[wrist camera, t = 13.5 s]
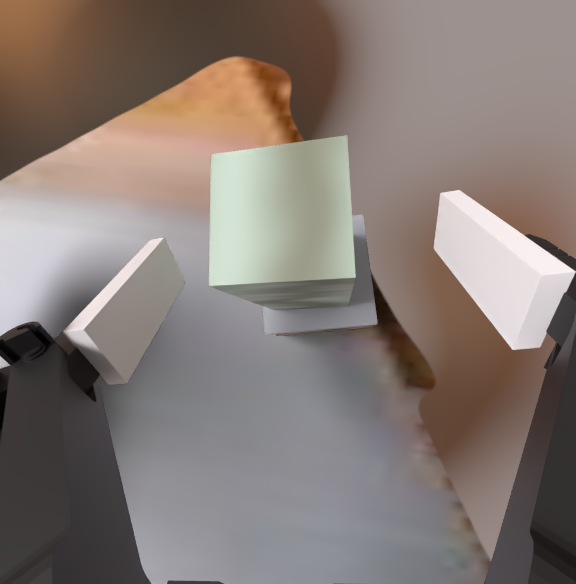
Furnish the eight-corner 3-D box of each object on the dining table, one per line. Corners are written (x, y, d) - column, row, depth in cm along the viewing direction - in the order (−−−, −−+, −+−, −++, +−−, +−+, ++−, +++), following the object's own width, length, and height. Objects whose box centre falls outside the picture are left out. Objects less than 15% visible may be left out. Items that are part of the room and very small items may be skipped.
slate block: (274, 334, 27) (264, 334, 24) (267, 244, 29) (257, 229, 25) (371, 325, 26) (377, 324, 22) (359, 231, 28) (362, 214, 24)
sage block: (273, 309, 24) (208, 286, 12) (272, 239, 25) (211, 154, 13) (347, 306, 23) (355, 277, 11) (343, 234, 24) (347, 135, 12)
